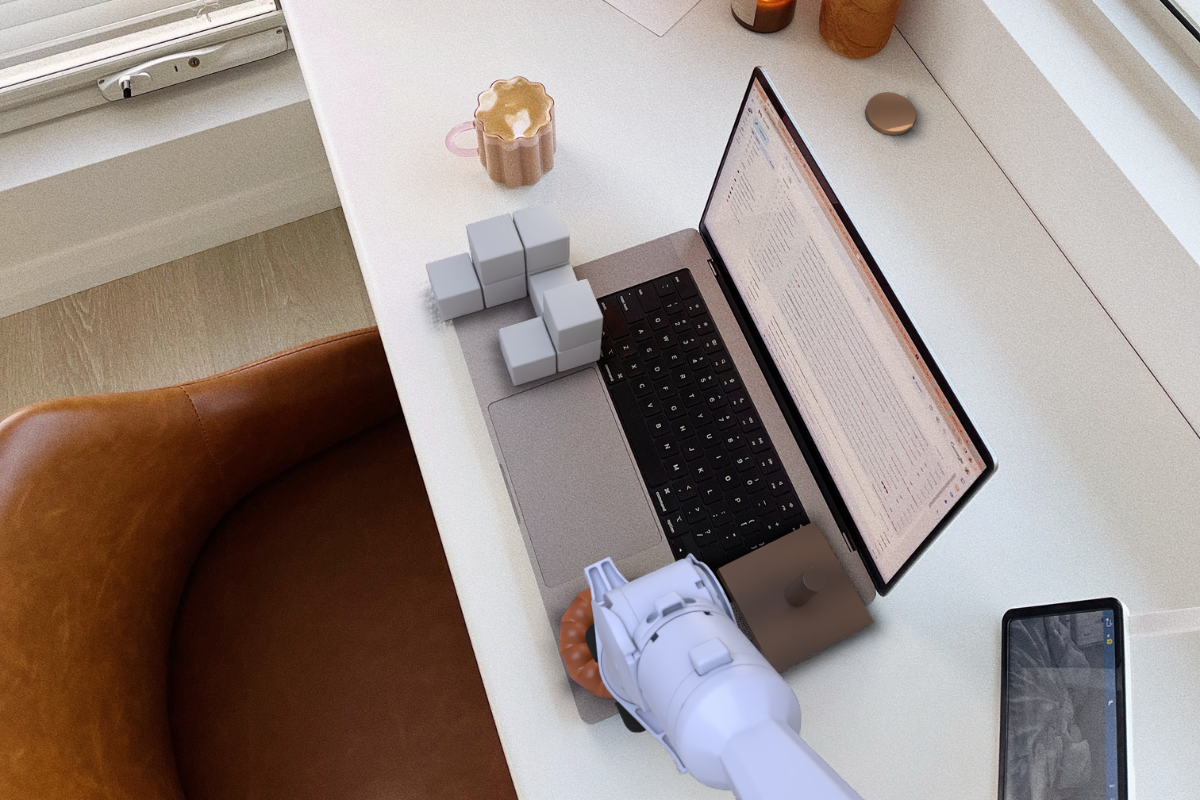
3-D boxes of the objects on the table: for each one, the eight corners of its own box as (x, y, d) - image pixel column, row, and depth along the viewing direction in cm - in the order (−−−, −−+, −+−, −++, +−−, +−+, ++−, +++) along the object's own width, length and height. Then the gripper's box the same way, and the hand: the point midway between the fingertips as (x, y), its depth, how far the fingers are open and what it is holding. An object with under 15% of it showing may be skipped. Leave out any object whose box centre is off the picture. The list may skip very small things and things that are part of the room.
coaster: (923, 125, 92) (925, 121, 91) (882, 142, 91) (884, 138, 90) (896, 89, 94) (898, 85, 93) (855, 105, 93) (857, 101, 92)
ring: (692, 667, 70) (696, 664, 68) (589, 720, 69) (590, 718, 66) (640, 566, 73) (642, 559, 71) (540, 614, 72) (540, 608, 69)
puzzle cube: (430, 286, 83) (417, 237, 75) (556, 249, 85) (555, 199, 77) (469, 401, 78) (459, 361, 71) (600, 360, 80) (603, 317, 73)
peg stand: (870, 624, 72) (900, 608, 66) (772, 676, 70) (793, 664, 64) (811, 524, 75) (834, 499, 69) (716, 571, 73) (731, 550, 67)
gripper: (765, 733, 55) (728, 743, 67) (654, 520, 59) (638, 567, 72) (661, 789, 53) (642, 789, 66) (555, 566, 58) (557, 606, 71)
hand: (635, 675), depth 69 cm, fingers closed on ring, 2 cm apart
